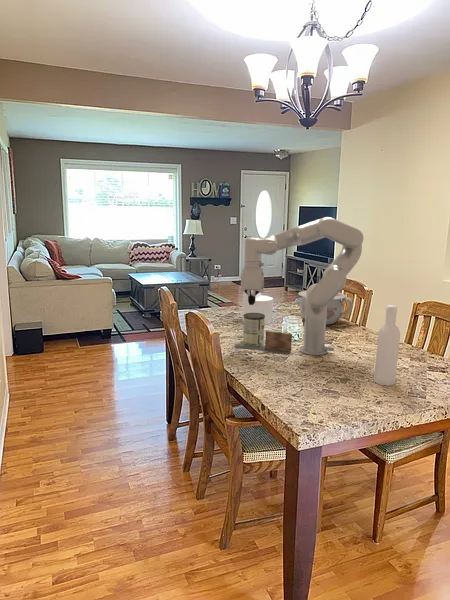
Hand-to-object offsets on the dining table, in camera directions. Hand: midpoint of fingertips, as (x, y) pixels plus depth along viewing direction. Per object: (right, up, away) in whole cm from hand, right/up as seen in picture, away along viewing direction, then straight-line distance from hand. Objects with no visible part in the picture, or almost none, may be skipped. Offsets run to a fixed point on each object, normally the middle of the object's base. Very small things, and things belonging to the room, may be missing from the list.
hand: (251, 304), depth 207 cm
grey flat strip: (+5, -21, +2) cm, 22 cm away
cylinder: (+6, -11, +55) cm, 56 cm away
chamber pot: (+43, -11, +55) cm, 71 cm away
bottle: (+49, -30, -35) cm, 67 cm away
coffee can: (+2, -19, +12) cm, 23 cm away
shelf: (+12, -22, 0) cm, 25 cm away
